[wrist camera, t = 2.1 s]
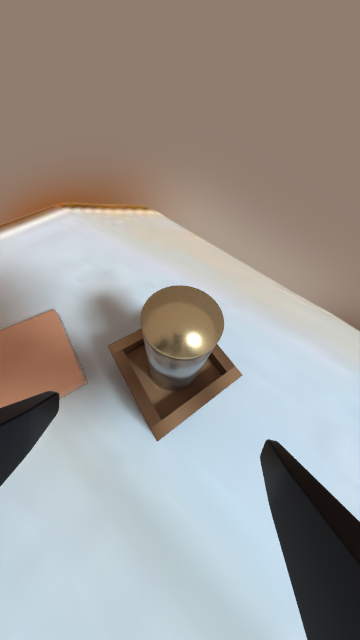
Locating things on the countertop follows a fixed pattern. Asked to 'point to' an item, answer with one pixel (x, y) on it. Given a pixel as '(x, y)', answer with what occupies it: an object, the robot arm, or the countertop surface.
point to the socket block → (162, 404)
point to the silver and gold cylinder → (179, 334)
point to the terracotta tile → (37, 360)
